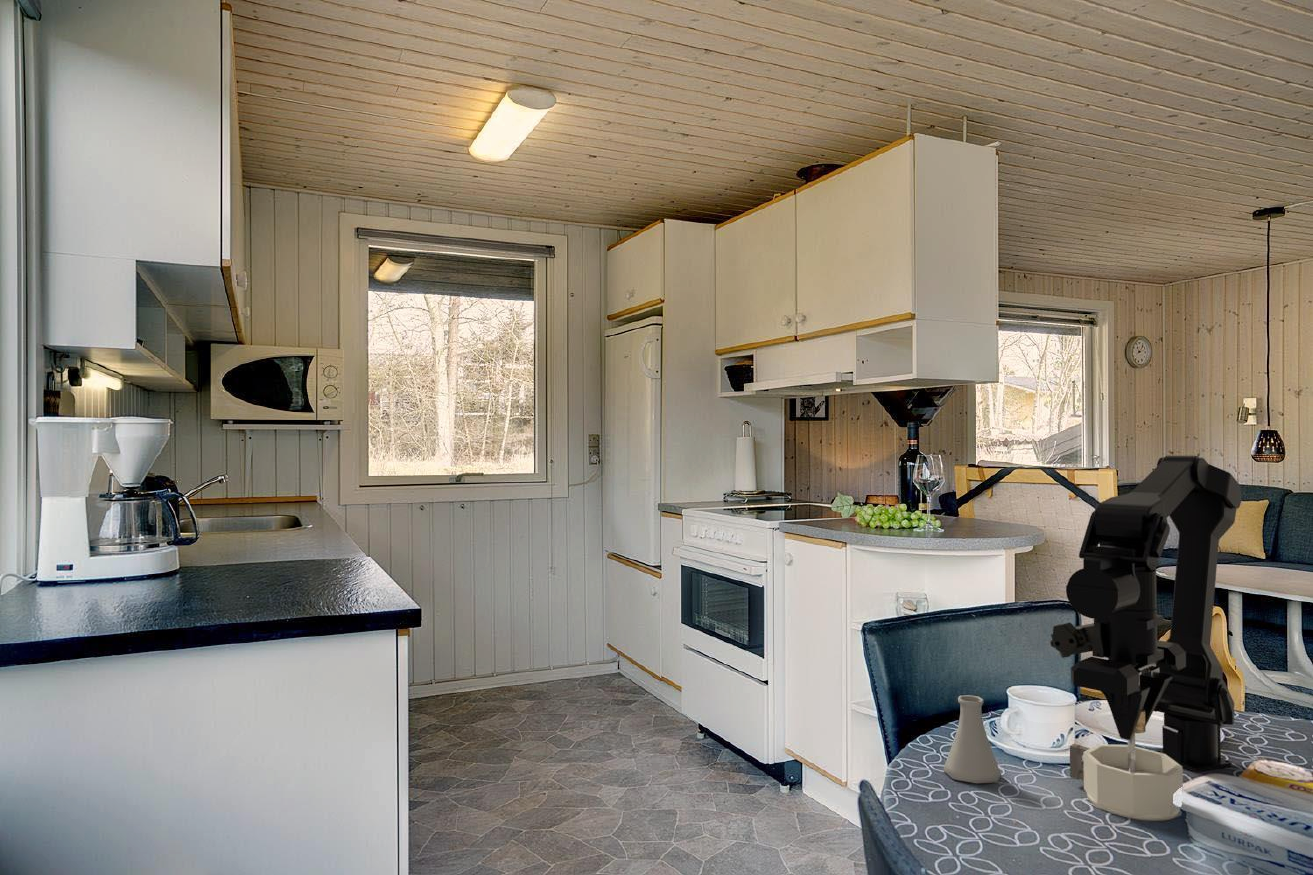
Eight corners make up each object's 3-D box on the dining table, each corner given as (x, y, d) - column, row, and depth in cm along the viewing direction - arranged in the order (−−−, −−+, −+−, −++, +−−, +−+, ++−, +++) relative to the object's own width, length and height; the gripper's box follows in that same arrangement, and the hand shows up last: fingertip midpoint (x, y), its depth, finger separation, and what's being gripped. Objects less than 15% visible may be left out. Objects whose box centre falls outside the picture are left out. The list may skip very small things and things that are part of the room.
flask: (1006, 787, 105) (1005, 708, 105) (946, 783, 107) (945, 705, 107) (995, 765, 112) (994, 691, 113) (939, 761, 114) (938, 689, 114)
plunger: (1113, 766, 106) (1112, 695, 106) (1176, 784, 100) (1175, 709, 100) (1087, 781, 101) (1086, 708, 101) (1152, 801, 95) (1151, 723, 95)
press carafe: (1089, 773, 109) (1089, 734, 109) (1193, 803, 100) (1192, 760, 100) (1054, 794, 103) (1053, 752, 103) (1161, 828, 94) (1160, 782, 94)
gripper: (1094, 588, 113) (1095, 703, 113) (1026, 607, 101) (1028, 735, 101) (1186, 599, 104) (1188, 724, 104) (1124, 621, 92) (1126, 762, 92)
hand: (1131, 735), depth 101 cm, fingers closed on plunger, 3 cm apart
